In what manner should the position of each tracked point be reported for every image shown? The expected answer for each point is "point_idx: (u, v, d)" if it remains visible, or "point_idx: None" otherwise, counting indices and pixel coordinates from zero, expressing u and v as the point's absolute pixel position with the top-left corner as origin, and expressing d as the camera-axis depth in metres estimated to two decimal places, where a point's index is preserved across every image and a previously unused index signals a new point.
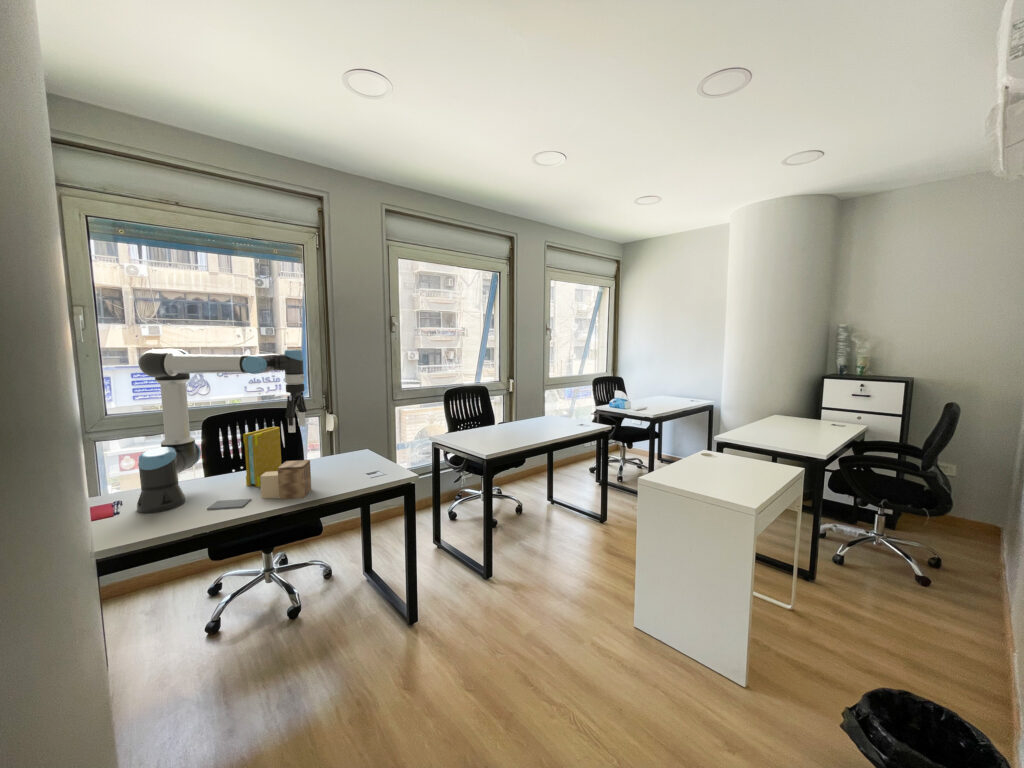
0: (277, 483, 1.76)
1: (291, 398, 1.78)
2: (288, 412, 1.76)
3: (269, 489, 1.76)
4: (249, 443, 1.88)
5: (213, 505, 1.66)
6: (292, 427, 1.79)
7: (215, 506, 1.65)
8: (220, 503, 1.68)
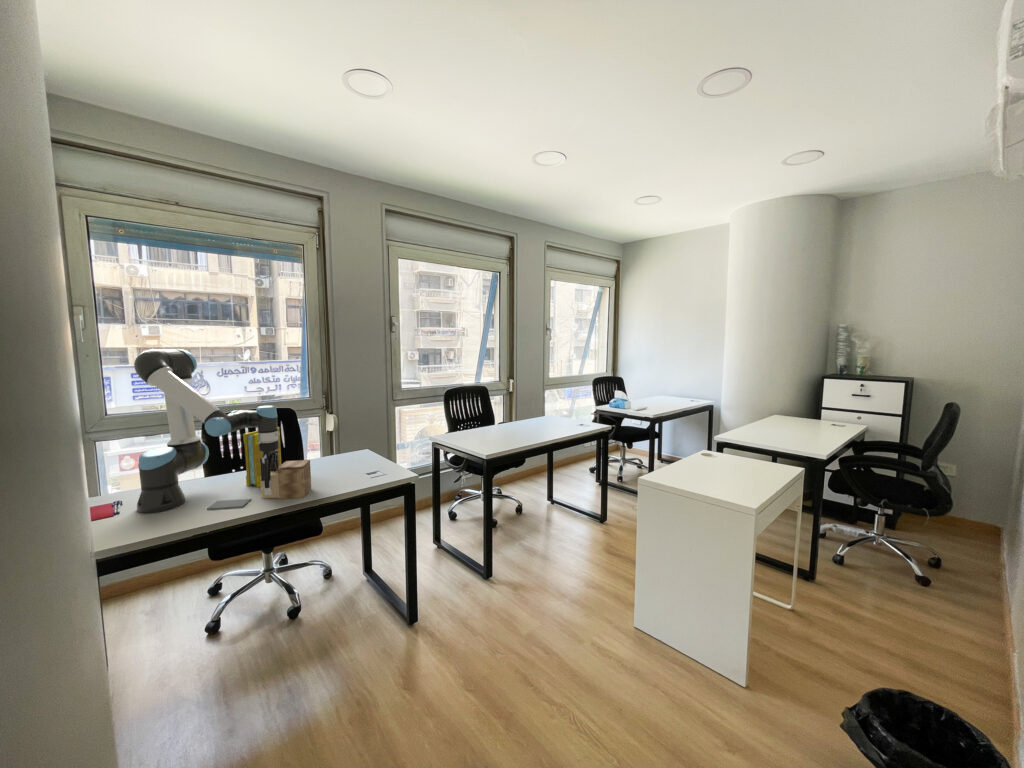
0: (277, 483, 1.76)
1: (264, 461, 1.71)
2: (263, 476, 1.71)
3: None
4: (249, 443, 1.88)
5: (213, 505, 1.66)
6: (268, 489, 1.75)
7: (215, 506, 1.65)
8: (220, 503, 1.68)
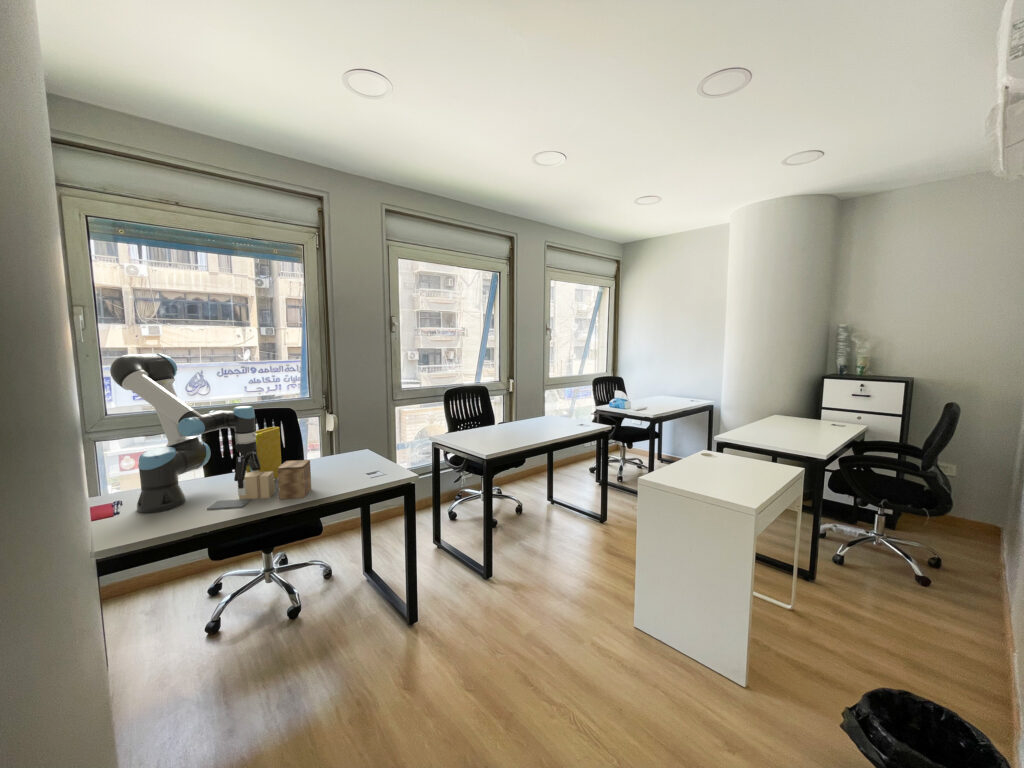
0: (255, 484, 1.75)
1: (240, 460, 1.69)
2: (237, 475, 1.67)
3: (246, 491, 1.74)
4: None
5: (213, 505, 1.66)
6: (242, 490, 1.70)
7: (215, 506, 1.65)
8: (220, 503, 1.68)
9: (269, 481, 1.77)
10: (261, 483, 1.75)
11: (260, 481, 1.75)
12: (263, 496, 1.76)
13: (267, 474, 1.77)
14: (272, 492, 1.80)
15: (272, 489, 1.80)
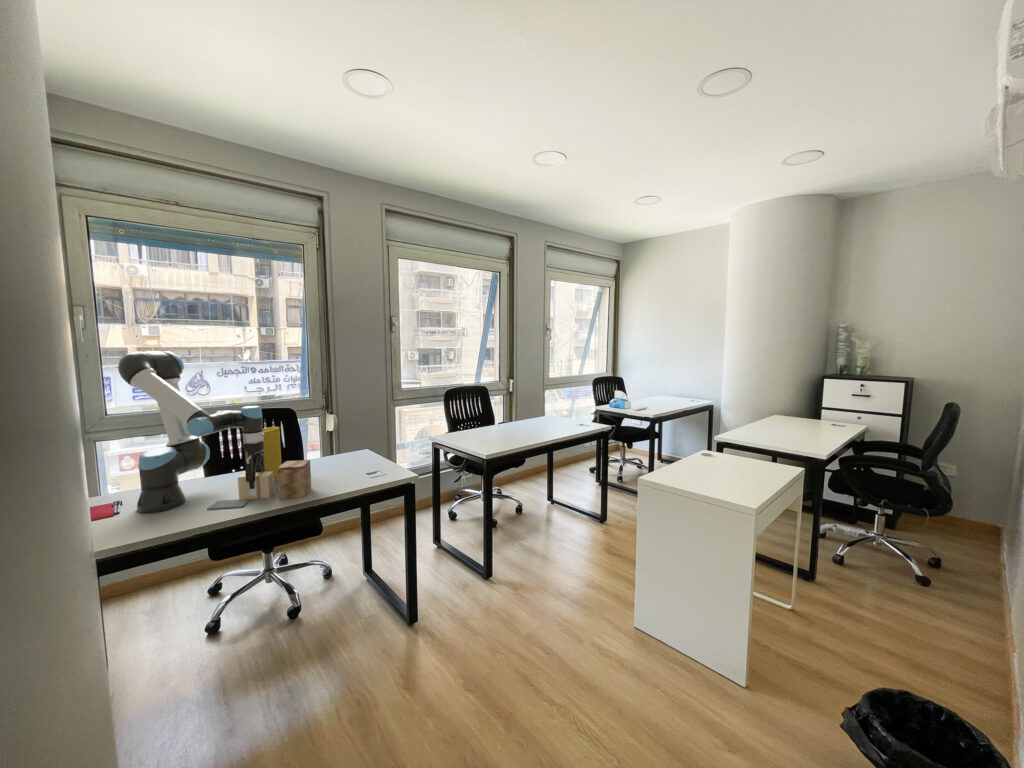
0: None
1: (249, 462, 1.70)
2: (248, 476, 1.70)
3: (246, 491, 1.74)
4: None
5: (213, 505, 1.66)
6: (253, 490, 1.74)
7: (215, 506, 1.65)
8: (220, 503, 1.68)
9: (269, 481, 1.77)
10: (261, 483, 1.75)
11: (260, 481, 1.75)
12: (263, 496, 1.76)
13: (267, 474, 1.77)
14: (272, 492, 1.80)
15: (272, 489, 1.80)
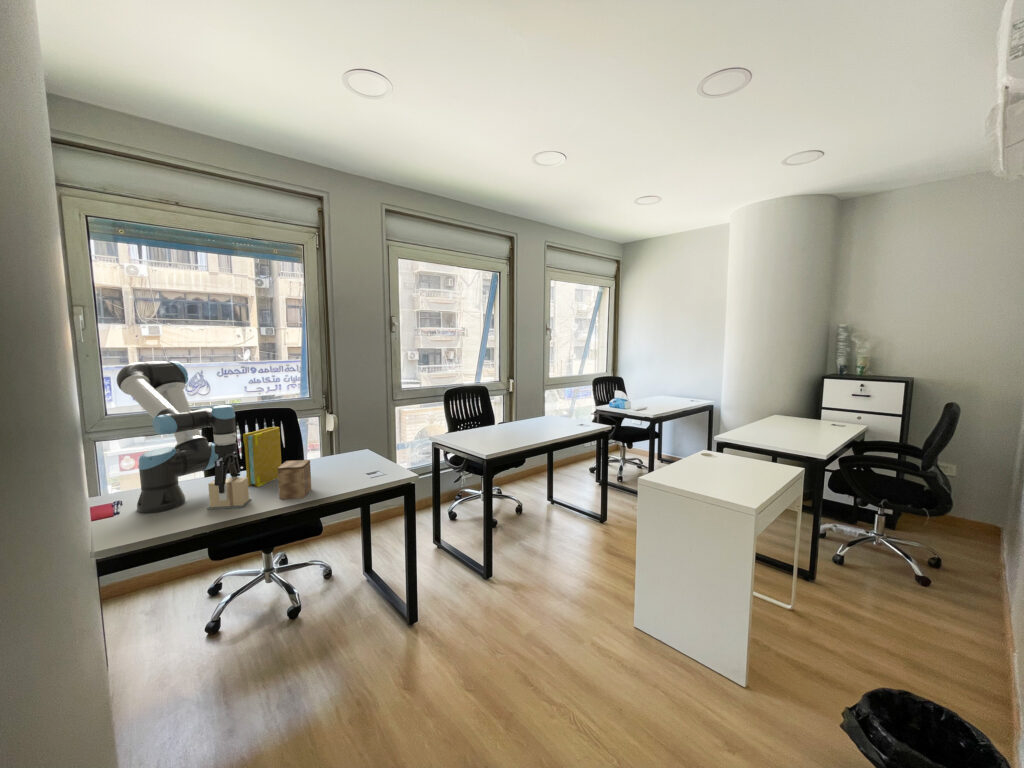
0: (227, 491, 1.65)
1: (219, 464, 1.60)
2: (217, 480, 1.60)
3: (218, 498, 1.65)
4: (249, 443, 1.88)
5: None
6: (223, 495, 1.63)
7: None
8: None
9: (242, 487, 1.67)
10: (233, 490, 1.65)
11: (232, 488, 1.65)
12: (236, 504, 1.66)
13: (240, 480, 1.67)
14: (246, 499, 1.70)
15: (246, 496, 1.70)
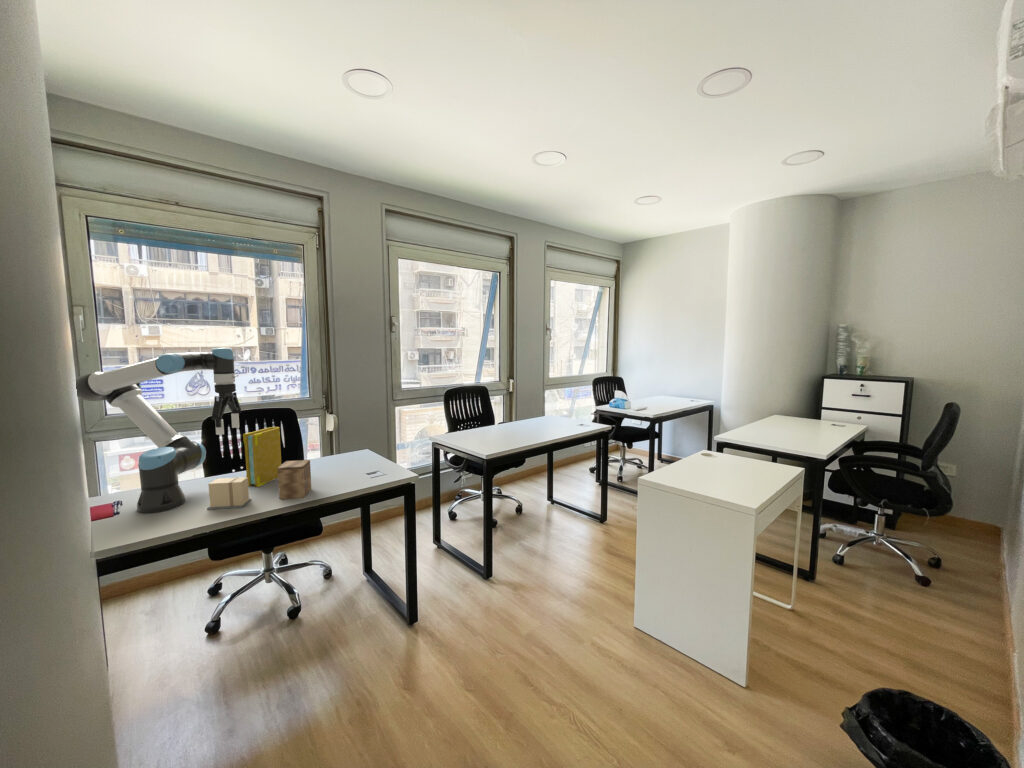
0: (227, 491, 1.65)
1: (218, 399, 1.69)
2: (214, 413, 1.67)
3: (218, 498, 1.65)
4: (249, 443, 1.88)
5: None
6: (220, 429, 1.70)
7: None
8: None
9: (242, 487, 1.67)
10: (233, 490, 1.65)
11: (232, 488, 1.65)
12: (236, 504, 1.66)
13: (240, 480, 1.67)
14: (246, 499, 1.70)
15: (246, 496, 1.70)
